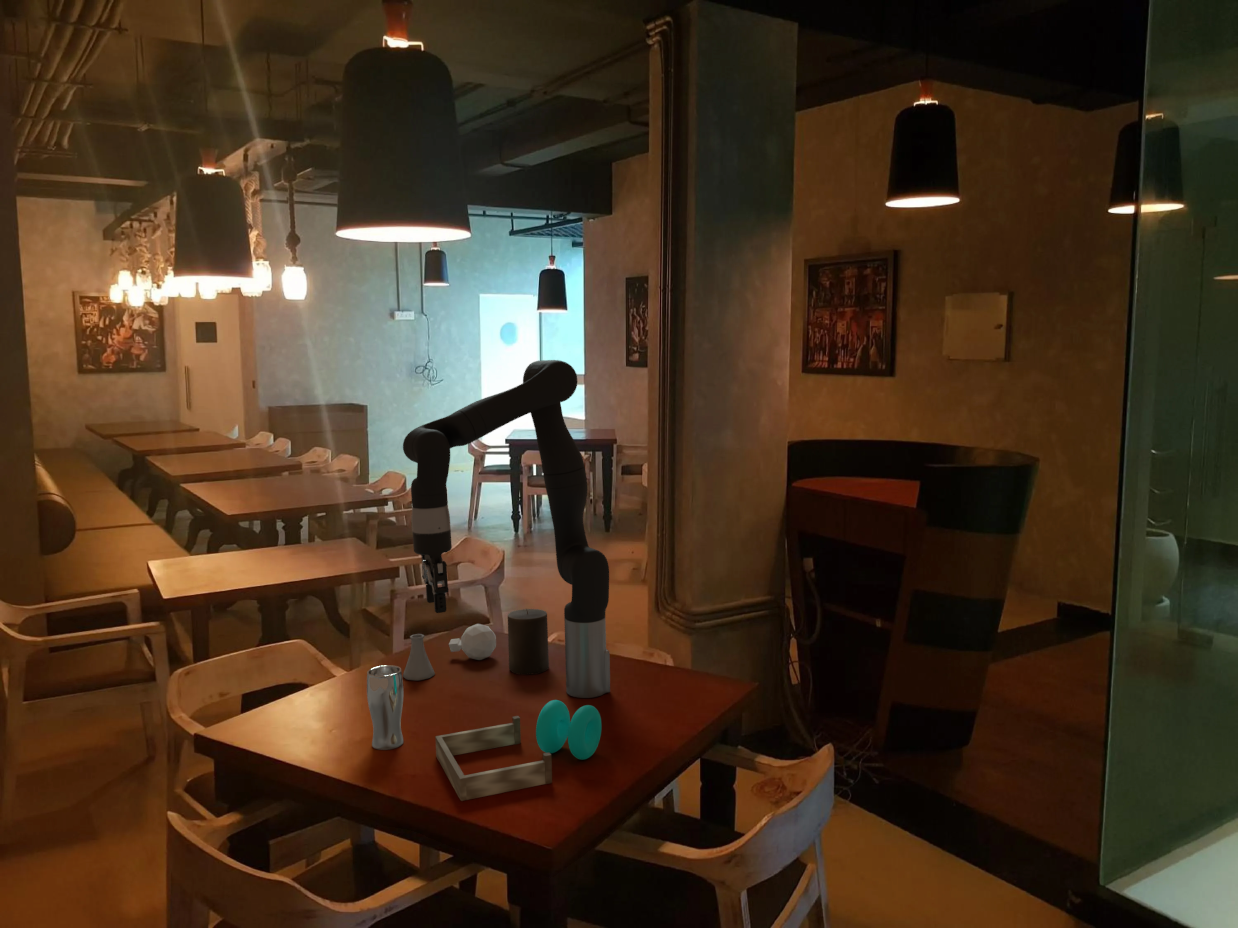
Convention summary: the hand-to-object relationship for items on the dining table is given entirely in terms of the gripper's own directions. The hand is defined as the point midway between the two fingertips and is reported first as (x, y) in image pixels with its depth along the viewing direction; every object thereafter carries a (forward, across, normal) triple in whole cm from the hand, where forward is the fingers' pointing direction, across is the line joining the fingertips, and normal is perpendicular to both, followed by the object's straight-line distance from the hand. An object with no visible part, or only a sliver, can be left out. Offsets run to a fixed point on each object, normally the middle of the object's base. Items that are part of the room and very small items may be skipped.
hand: (436, 606), depth 190 cm
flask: (+26, +34, -1) cm, 43 cm away
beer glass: (+26, -3, +12) cm, 28 cm away
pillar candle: (+27, +29, -27) cm, 47 cm away
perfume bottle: (+26, +42, -16) cm, 53 cm away
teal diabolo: (+26, -22, -20) cm, 40 cm away
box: (+26, -23, -4) cm, 35 cm away
